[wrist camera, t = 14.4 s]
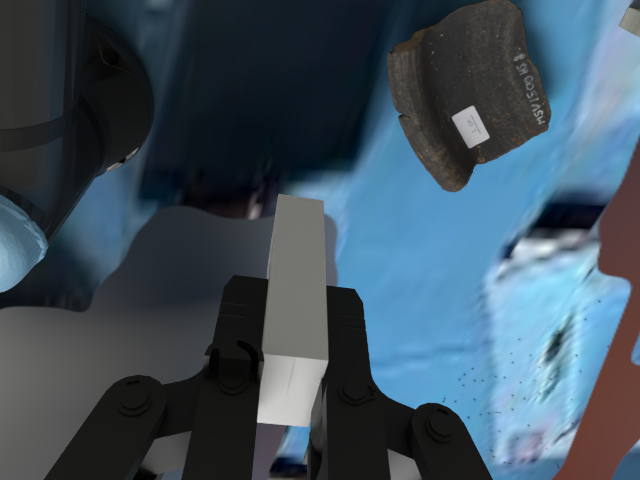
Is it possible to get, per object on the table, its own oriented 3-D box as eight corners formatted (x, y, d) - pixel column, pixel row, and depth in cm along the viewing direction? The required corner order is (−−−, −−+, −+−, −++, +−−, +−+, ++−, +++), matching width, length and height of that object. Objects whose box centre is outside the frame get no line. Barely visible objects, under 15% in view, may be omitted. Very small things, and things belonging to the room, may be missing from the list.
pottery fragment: (553, 126, 45) (567, 150, 42) (432, 175, 49) (436, 200, 46) (506, -29, 37) (520, -14, 34) (366, 47, 41) (366, 67, 38)
